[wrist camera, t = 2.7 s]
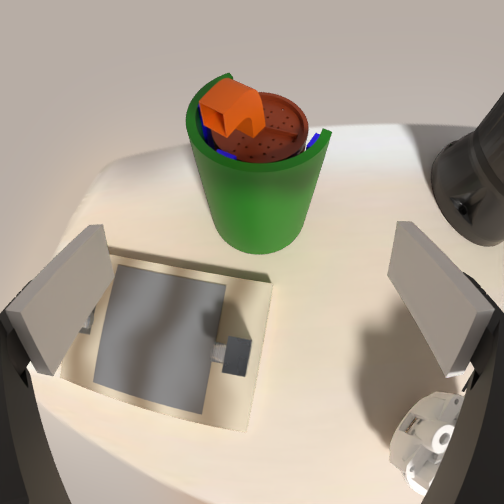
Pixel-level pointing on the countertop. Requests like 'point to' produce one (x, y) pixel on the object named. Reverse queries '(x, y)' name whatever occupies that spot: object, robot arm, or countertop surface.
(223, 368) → the grey block with stub
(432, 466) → the mechanical part
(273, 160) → the green plastic cylinder
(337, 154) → the countertop surface
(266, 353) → the countertop surface
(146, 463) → the countertop surface
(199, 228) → the countertop surface
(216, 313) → the mount plate
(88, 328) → the knobbed dark grey block
